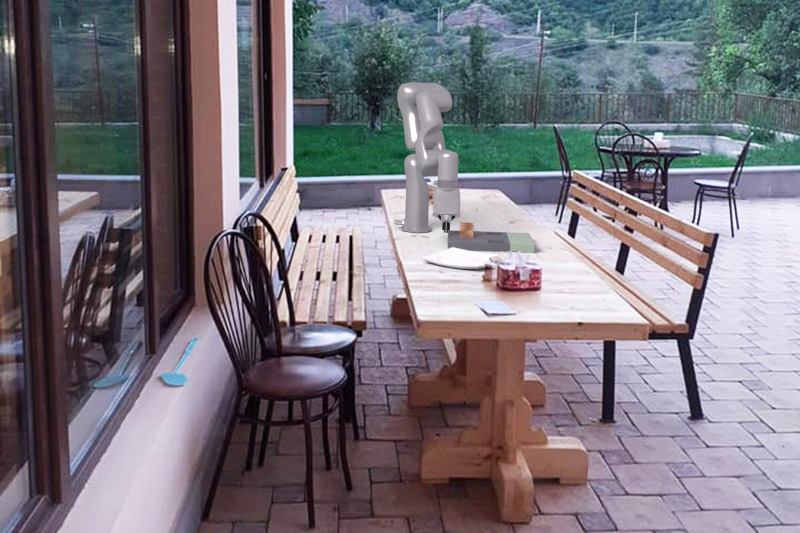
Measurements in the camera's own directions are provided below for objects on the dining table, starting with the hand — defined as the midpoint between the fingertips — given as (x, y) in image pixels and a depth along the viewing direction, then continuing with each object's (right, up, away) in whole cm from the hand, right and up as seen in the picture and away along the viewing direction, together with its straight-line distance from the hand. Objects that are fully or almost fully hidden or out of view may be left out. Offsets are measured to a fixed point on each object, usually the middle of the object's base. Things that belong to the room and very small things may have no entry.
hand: (445, 232), depth 347 cm
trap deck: (+17, -5, 0) cm, 17 cm away
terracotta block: (+8, -2, 0) cm, 8 cm away
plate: (+5, -12, -31) cm, 34 cm away
